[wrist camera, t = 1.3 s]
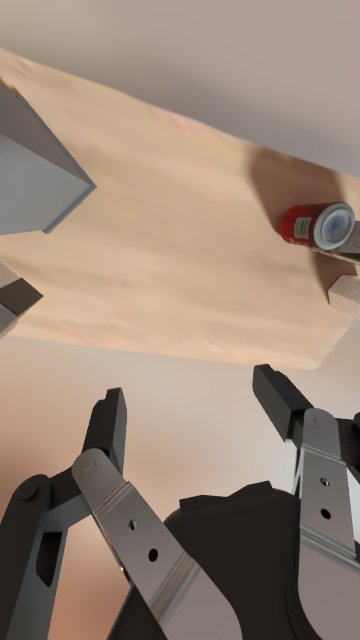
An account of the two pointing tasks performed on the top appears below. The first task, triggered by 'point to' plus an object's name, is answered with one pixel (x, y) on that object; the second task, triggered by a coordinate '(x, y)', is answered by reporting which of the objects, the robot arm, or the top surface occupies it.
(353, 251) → the coffee box
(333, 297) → the jar
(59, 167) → the stand
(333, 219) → the soda can
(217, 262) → the top surface
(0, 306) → the grey rectangular bar
